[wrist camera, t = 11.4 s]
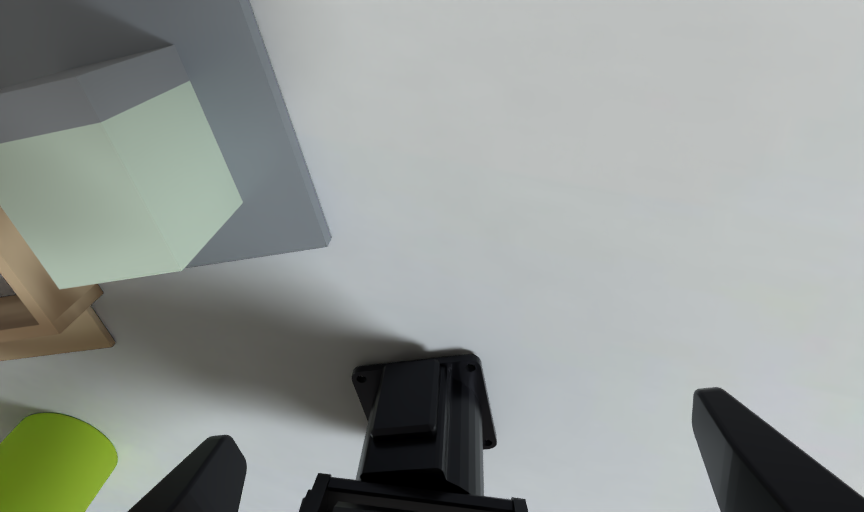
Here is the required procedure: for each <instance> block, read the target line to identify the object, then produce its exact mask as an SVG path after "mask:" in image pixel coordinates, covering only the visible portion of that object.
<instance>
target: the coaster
mask: <svg viewBox="0 0 864 512" xmlns="http://www.w3.org/2000/svg"><path fill="white" fill-rule="evenodd" d="M171 45H175V48H176V50H177V52H178V55H179V57H180V59H181V62H182V64H183V66H184V68H185V71H186V73H187V75H188V78H189V80H190V82H191V84H192V87H193V89H194V91H195V94H196V96H197V98H198V100H199V103H200V105H201V107H202V110H203V112H204V114H205V117H206V119H207V121H208V123H209V126H210V128H211V130H212V133H213V135H214V137H215V139H216V142H217V144H218V146H219V149H220V151H221V153H222V155H223V158H224V160H225V162H226V165H227V167H228V169H229V172H230V174H231V176H232V178H233V181H234V183H235V185H236V188H237V190H238V192H239V194H240V197H241V199H242V201H243V203H242V204H241V206H240V207H239V208H238V209H237V210H236V211H235V212H234V213H233V215H232V216H231V217H230V218H229V219H228V220H227V221H226V222H225V223H224V225H223V226H222V227H221V228H220V229H219V230H218V231H217V232H216V233H215V235H214V236H213V237H212V238H211V239H210V240H209V241H208V242H207V244H206V245H205V246H204V247H203V248H202V249H201V250H200V251H199V252H198V254H197V255H196V256H195V257H194V258H193V259H192V260H191V261H190V262H189V264H188V265H187V266H186V267H185V268H189V267H196V266H203V265H209V264H216V263H223V262H229V261H236V260H243V259H249V258H256V257H263V256H270V255H276V254H283V253H290V252H296V251H303V250H310V249H316V248H323V247H327V246H328V244H329V242H330V240H331V238H332V236H331V234H330V231H329V228H328V225H327V222H326V219H325V216H324V214H323V211H322V208H321V205H320V202H319V199H318V196H317V193H316V191H315V188H314V185H313V182H312V179H311V176H310V173H309V171H308V168H307V165H306V162H305V159H304V156H303V153H302V151H301V148H300V145H299V142H298V139H297V136H296V133H295V130H294V128H293V125H292V122H291V119H290V116H289V113H288V110H287V108H286V105H285V102H284V99H283V96H282V93H281V90H280V88H279V85H278V82H277V79H276V76H275V73H274V70H273V67H272V65H271V62H270V59H269V56H268V53H267V50H266V47H265V45H264V42H263V39H262V36H261V33H260V30H259V27H258V25H257V22H256V19H255V16H254V13H253V10H252V7H251V5H250V2H249V0H0V89H3V88H6V87H9V86H13V85H16V84H19V83H23V82H26V81H29V80H33V79H36V78H40V77H43V76H46V75H50V74H53V73H56V72H60V71H64V70H68V69H72V68H76V67H81V66H85V65H89V64H94V63H98V62H102V61H107V60H111V59H115V58H120V57H124V56H128V55H132V54H137V53H141V52H145V51H150V50H154V49H158V48H163V47H167V46H171Z"/></svg>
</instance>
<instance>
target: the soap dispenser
mask: <svg viewBox="0 0 864 512" xmlns="http://www.w3.org/2000/svg"><path fill="white" fill-rule="evenodd" d="M117 461H118V456H117V452H116V450H115V448H114V446H113V445H112V443H111V442H110V441H109V440H108V439H107V438H106V437H105V436H104V435H103V434H102V433H101V432H100V431H98V430H97V429H95V428H94V427H92V426H90V425H89V424H87V423H85V422H83V421H80V420H78V419H75V418H73V417H69V416H66V415H61V414H55V413H38V414H33V415H30V416H28V417H26V418H25V419H23V420H22V421H21V422H20V423H19V424H18V425H17V426H16V427H15V428H14V430H13V431H12V432H11V433H10V434H9V435H8V436H7V437H6V438H5V439H4V440H3V441H2V442H1V443H0V512H85V511H86V509H87V508H88V506H89V505H90V503H91V502H92V500H93V499H94V498H95V496H96V495H97V493H98V492H99V490H100V489H101V487H102V486H103V484H104V483H105V482H106V480H107V479H108V477H109V476H110V474H111V473H112V471H113V470H114V468H115V467H116V465H117Z"/></svg>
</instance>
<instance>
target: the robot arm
mask: <svg viewBox="0 0 864 512" xmlns="http://www.w3.org/2000/svg"><path fill="white" fill-rule="evenodd" d="M468 364H473V366H468ZM361 376H364V377H361ZM352 382H353V384H354V387H355V389H356V392H357V394H358V397H359V399H360V402H361V405H362V407H363V410H364V412H365V415H366V417H367V420H368V425H367V430H366V435H365V439H364V444H363V448H362V453H361V458H360V462H359V467H358V472H357V476H356V480H352V479H344V478H336V477H331V475H330V474H322V473H318V475H317V478H316V480H315V483H314V485H313V488H312V490H308V492H307V494H306V497H305V498H303V500H302V503H301V506H300V510H299V512H528V509H527V505H526V501H525V499H521V498H513V497H512V498H511V500H510V499H502V498H494V497H486V496H484V476H483V449H491V448H494V447H495V446H496V444H497V439H496V432H495V427H494V422H493V418H492V413H491V408H490V403H489V398H488V393H487V389H486V384H485V379H484V374H483V369H482V364H481V360H480V358H479V357H477V356H475V355H470V354H469V355H459V356H450V357H441V358H432V359H422V360H413V361H404V362H395V363H385V364H376V365H367V366H359V367H356V368H355V369H354V371H353V374H352ZM692 427H693V431H694V435H695V438H696V441H697V444H698V447H699V450H700V452H701V455H702V458H703V461H704V464H705V467H706V470H707V473H708V476H709V479H710V482H711V485H712V488H713V491H714V494H715V496H716V499H717V502H718V505H719V508H720V511H721V512H864V497H862V496H861V495H860V494H858V493H857V492H856V491H855V490H853V489H852V488H851V487H849V486H848V485H847V484H846V483H844V482H843V481H842V480H840V479H839V478H838V477H836V476H835V475H834V474H833V473H831V472H830V471H829V470H827V469H826V468H825V467H823V466H822V465H821V464H820V463H818V462H817V461H816V460H814V459H813V458H812V457H810V456H809V455H808V454H807V453H805V452H804V451H803V450H801V449H800V448H799V447H797V446H796V445H795V444H794V443H792V442H791V441H790V440H788V439H787V438H786V437H784V436H783V435H782V434H781V433H779V432H778V431H777V430H775V429H774V428H773V427H772V426H770V425H769V424H768V423H766V422H765V421H764V420H762V419H761V418H760V417H759V416H757V415H756V414H755V413H753V412H752V411H751V410H749V409H748V408H747V407H746V406H744V405H743V404H742V403H740V402H739V401H738V400H736V399H735V398H734V397H733V396H731V395H730V394H729V393H727V392H726V391H725V390H723V389H721V388H718V387H713V388H702V389H697V390H696V391H695V392H694V396H693V410H692ZM246 470H247V465H246V460H245V458H244V456H243V454H242V453H241V451H240V449H239V448H238V446H237V445H236V443H235V441H234V440H233V438H232V437H231V436H229V435H218V436H211V437H209V438H207V439H206V440H205V441H204V442H202V443H201V444H200V445H199V446H198V447H197V448H196V449H195V450H194V451H193V452H192V453H191V454H189V455H188V456H187V457H186V458H185V459H184V460H183V461H182V462H181V463H180V464H179V465H178V466H176V467H175V468H174V469H173V470H172V471H171V472H170V473H169V474H168V475H167V476H166V477H165V478H163V479H162V480H161V481H160V482H159V483H158V484H157V485H156V486H155V487H154V488H153V489H152V490H150V491H149V492H148V493H147V494H146V495H145V496H144V497H143V498H142V499H141V500H140V501H139V502H137V503H136V504H135V505H134V506H133V507H132V508H131V509H130V510H129V511H128V512H238V509H239V504H240V499H241V495H242V490H243V485H244V481H245V476H246Z"/></svg>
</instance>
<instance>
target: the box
mask: <svg viewBox="0 0 864 512" xmlns="http://www.w3.org/2000/svg"><path fill="white" fill-rule="evenodd" d="M242 203H243V201H242V199H241V197H240V194H239V192H238V190H237V188H236V185H235V183H234V181H233V178H232V176H231V174H230V172H229V169H228V167H227V165H226V162H225V160H224V158H223V155H222V153H221V151H220V149H219V146H218V144H217V142H216V139H215V137H214V135H213V133H212V130H211V128H210V126H209V123H208V121H207V119H206V117H205V114H204V112H203V110H202V107H201V105H200V103H199V100H198V98H197V96H196V94H195V91H194V89H193V87H192V84H191V82H190V80H189V78H188V75H187V73H186V71H185V68H184V66H183V64H182V62H181V59H180V57H179V55H178V52H177V50H176V48H175V45H171V46H167V47H163V48H158V49H154V50H150V51H145V52H141V53H137V54H132V55H128V56H124V57H120V58H115V59H111V60H107V61H102V62H98V63H94V64H89V65H85V66H81V67H76V68H72V69H68V70H64V71H60V72H56V73H53V74H50V75H46V76H43V77H40V78H36V79H33V80H29V81H26V82H23V83H19V84H16V85H13V86H9V87H6V88H3V89H0V206H1V208H2V209H3V210H4V212H5V213H6V215H7V216H8V217H9V219H10V220H11V222H12V223H13V224H14V226H15V227H16V229H17V230H18V232H19V233H20V234H21V236H22V237H23V239H24V240H25V241H26V243H27V244H28V246H29V247H30V248H31V250H32V251H33V253H34V254H35V256H36V257H37V258H38V260H39V261H40V263H41V264H42V265H43V267H44V268H45V270H46V271H47V272H48V274H49V275H50V277H51V278H52V280H53V281H54V282H55V284H56V285H57V287H58V288H59V289H65V288H72V287H79V286H85V285H92V284H99V283H105V282H112V281H118V280H125V279H132V278H138V277H145V276H152V275H158V274H165V273H171V272H178V271H182V270H183V269H184V268H185V267H186V266H187V265H188V264H189V262H190V261H191V260H192V259H193V258H194V257H195V256H196V255H197V254H198V252H199V251H200V250H201V249H202V248H203V247H204V246H205V245H206V244H207V242H208V241H209V240H210V239H211V238H212V237H213V236H214V235H215V233H216V232H217V231H218V230H219V229H220V228H221V227H222V226H223V225H224V223H225V222H226V221H227V220H228V219H229V218H230V217H231V216H232V215H233V213H234V212H235V211H236V210H237V209H238V208H239V207H240V206H241V204H242Z"/></svg>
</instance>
